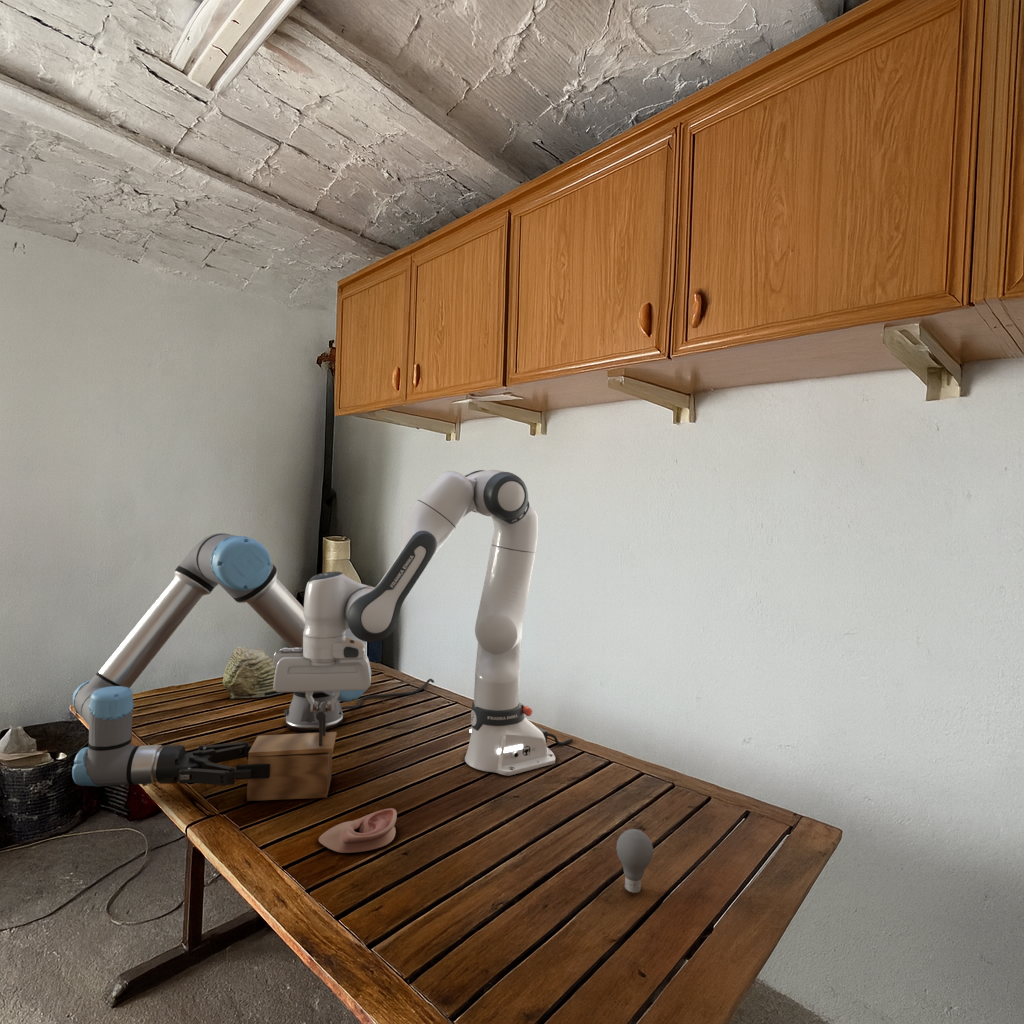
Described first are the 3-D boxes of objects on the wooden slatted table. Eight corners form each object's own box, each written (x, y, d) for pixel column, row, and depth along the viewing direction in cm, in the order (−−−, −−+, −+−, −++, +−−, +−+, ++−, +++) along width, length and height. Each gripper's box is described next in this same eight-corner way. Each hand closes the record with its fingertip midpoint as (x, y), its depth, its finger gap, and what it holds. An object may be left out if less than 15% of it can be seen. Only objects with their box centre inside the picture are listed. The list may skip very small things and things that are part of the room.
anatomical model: (310, 826, 114) (340, 797, 125) (309, 848, 114) (339, 817, 125) (379, 837, 111) (403, 806, 122) (378, 859, 111) (403, 827, 123)
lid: (336, 735, 142) (336, 699, 142) (332, 752, 133) (332, 713, 133) (257, 739, 139) (258, 702, 139) (248, 757, 130) (248, 716, 130)
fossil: (218, 695, 195) (220, 647, 195) (278, 685, 208) (279, 640, 207) (228, 703, 189) (230, 653, 188) (289, 692, 201) (290, 645, 201)
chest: (331, 778, 143) (332, 738, 142) (326, 797, 133) (328, 754, 133) (256, 781, 140) (257, 740, 139) (246, 801, 130) (248, 757, 130)
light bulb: (610, 879, 108) (613, 822, 108) (644, 879, 109) (647, 822, 109) (619, 902, 102) (622, 840, 102) (655, 901, 103) (658, 840, 103)
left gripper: (178, 760, 143) (282, 757, 147) (139, 807, 121) (263, 802, 125) (179, 727, 142) (283, 725, 146) (140, 768, 121) (264, 765, 125)
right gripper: (270, 651, 132) (269, 717, 132) (371, 650, 136) (369, 714, 136) (276, 644, 138) (274, 707, 139) (372, 643, 142) (370, 704, 142)
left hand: (274, 760), depth 136 cm, fingers closed on chest, 9 cm apart
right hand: (322, 710), depth 137 cm, fingers closed on lid, 2 cm apart
